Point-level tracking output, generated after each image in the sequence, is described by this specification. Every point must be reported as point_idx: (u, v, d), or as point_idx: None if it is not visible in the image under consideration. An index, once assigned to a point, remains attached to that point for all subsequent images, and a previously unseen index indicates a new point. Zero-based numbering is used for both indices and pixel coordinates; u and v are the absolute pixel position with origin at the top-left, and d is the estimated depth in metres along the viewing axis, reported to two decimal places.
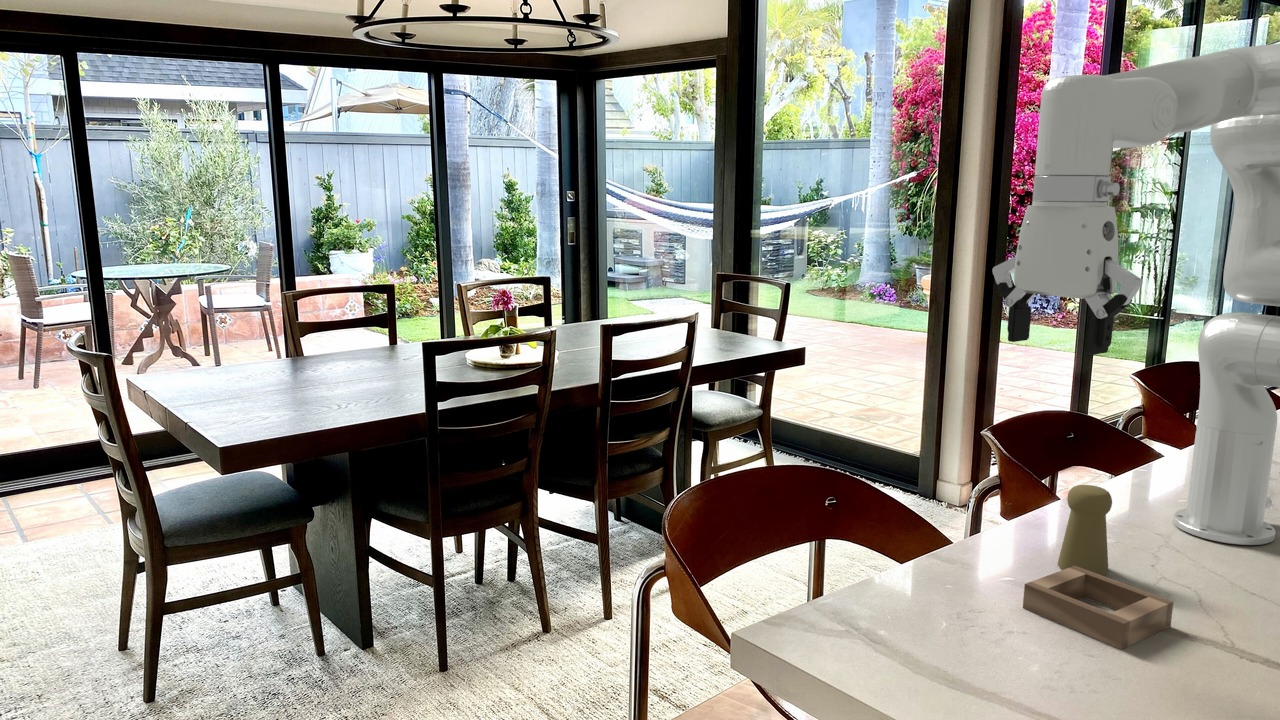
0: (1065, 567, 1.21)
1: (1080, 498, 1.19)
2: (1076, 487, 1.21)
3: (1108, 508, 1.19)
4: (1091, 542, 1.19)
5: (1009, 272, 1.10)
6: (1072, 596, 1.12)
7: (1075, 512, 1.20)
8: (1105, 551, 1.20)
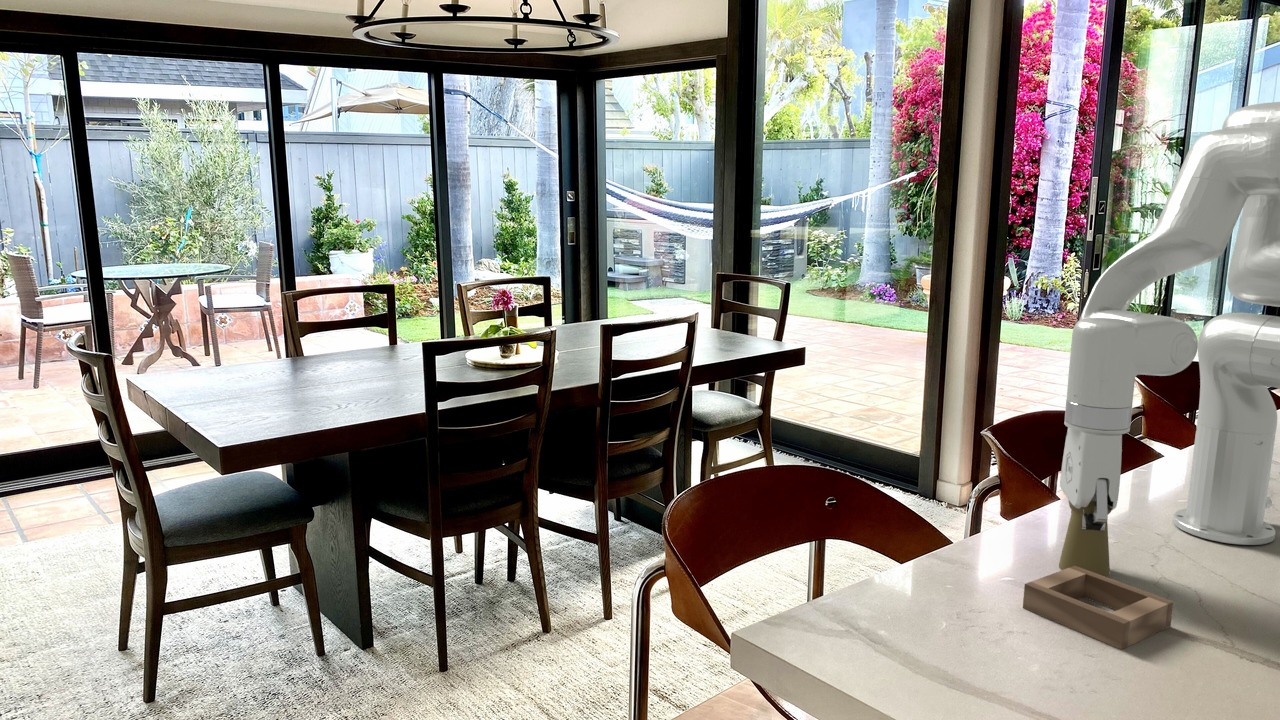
0: (1066, 568, 1.21)
1: None
2: None
3: None
4: (1092, 543, 1.19)
5: None
6: (1072, 596, 1.12)
7: (1076, 513, 1.20)
8: (1106, 552, 1.19)
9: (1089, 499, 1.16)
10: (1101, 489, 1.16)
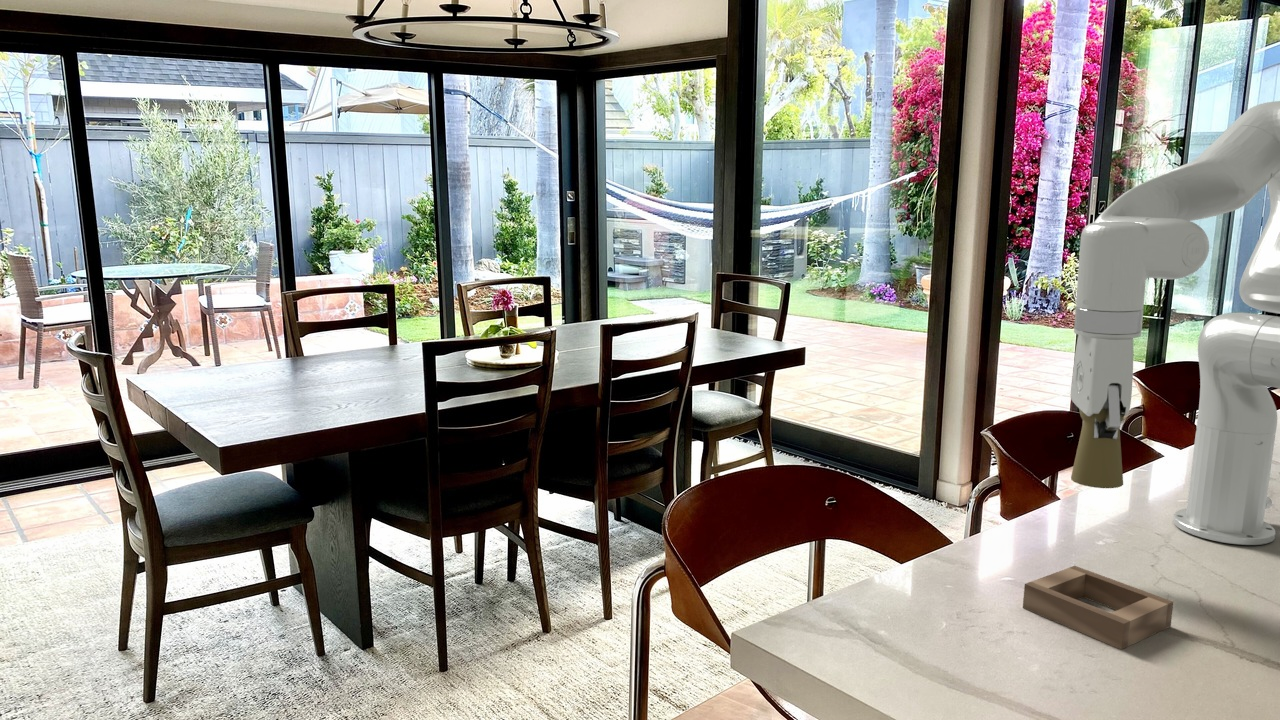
0: (1078, 479, 1.19)
1: None
2: None
3: None
4: (1104, 452, 1.17)
5: None
6: (1072, 596, 1.12)
7: (1088, 423, 1.18)
8: (1119, 461, 1.17)
9: (1101, 405, 1.14)
10: (1113, 395, 1.13)
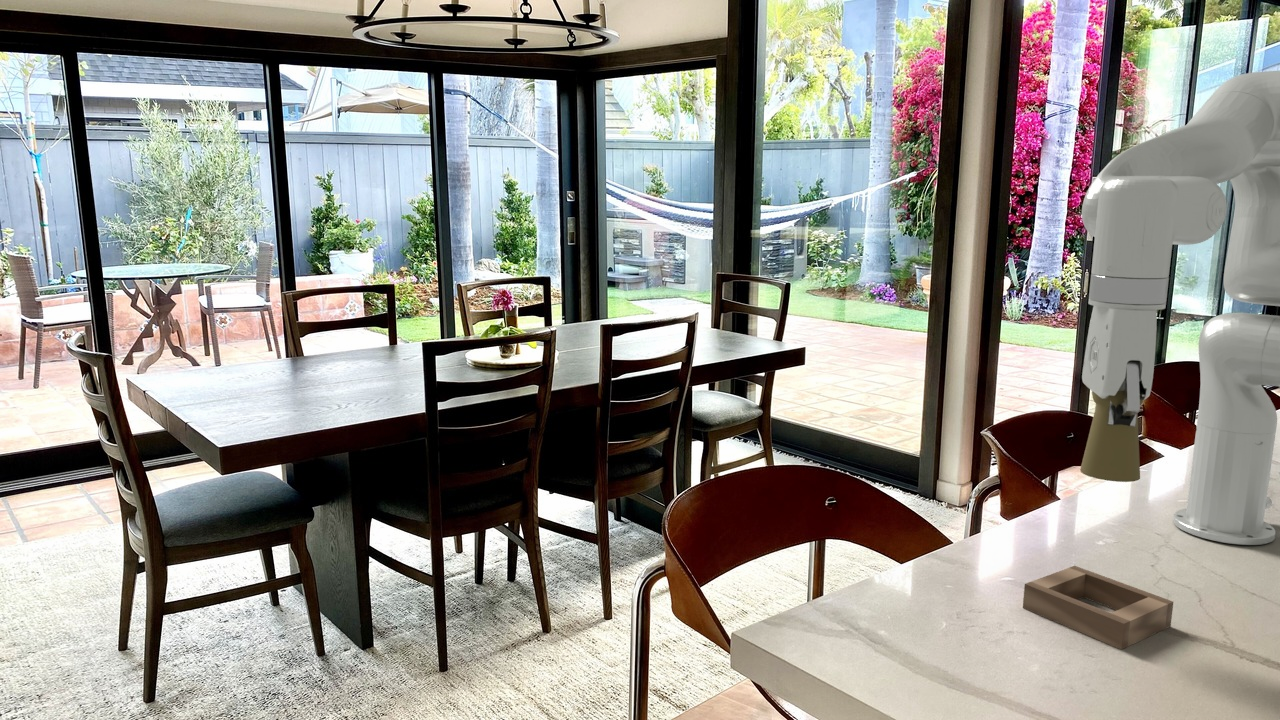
0: (1089, 471, 1.04)
1: None
2: None
3: (1140, 400, 1.01)
4: (1120, 440, 1.02)
5: None
6: (1072, 596, 1.12)
7: (1101, 407, 1.03)
8: (1136, 452, 1.03)
9: (1118, 386, 0.99)
10: (1132, 374, 0.99)
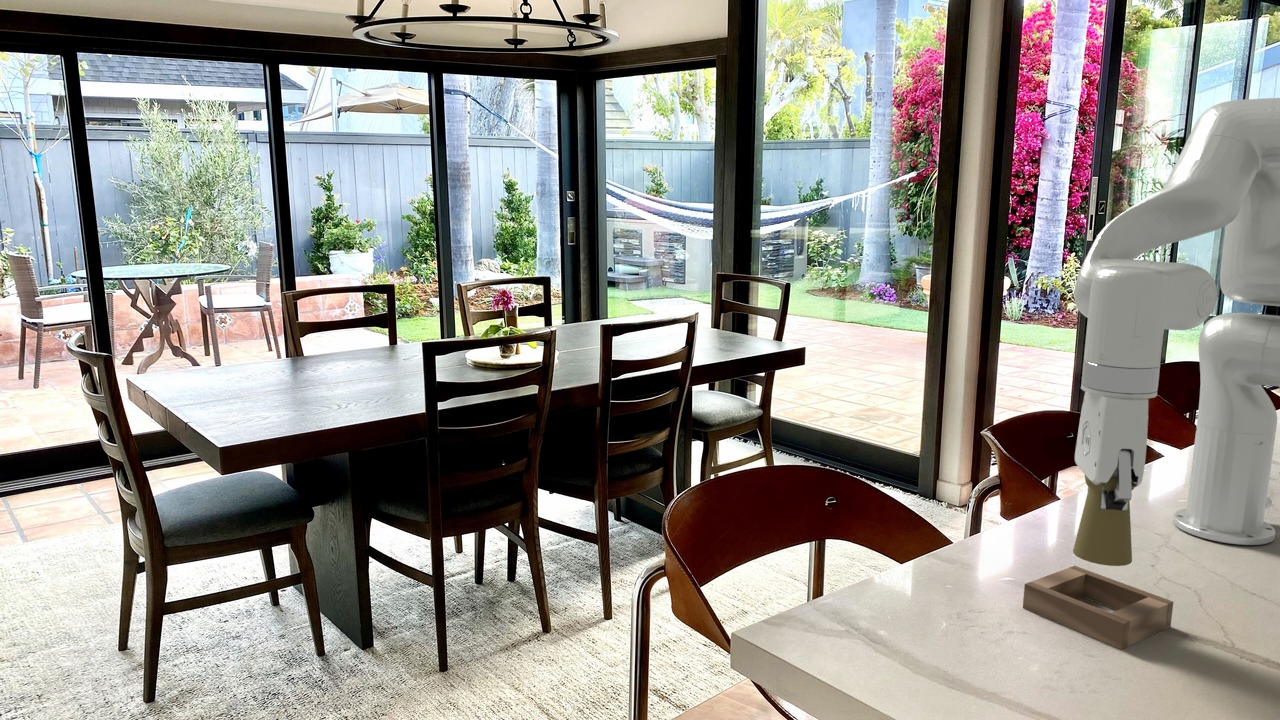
0: (1082, 554, 1.05)
1: None
2: None
3: None
4: (1112, 525, 1.03)
5: None
6: (1072, 596, 1.12)
7: (1094, 491, 1.04)
8: (1128, 536, 1.04)
9: (1110, 473, 1.00)
10: (1124, 462, 1.00)
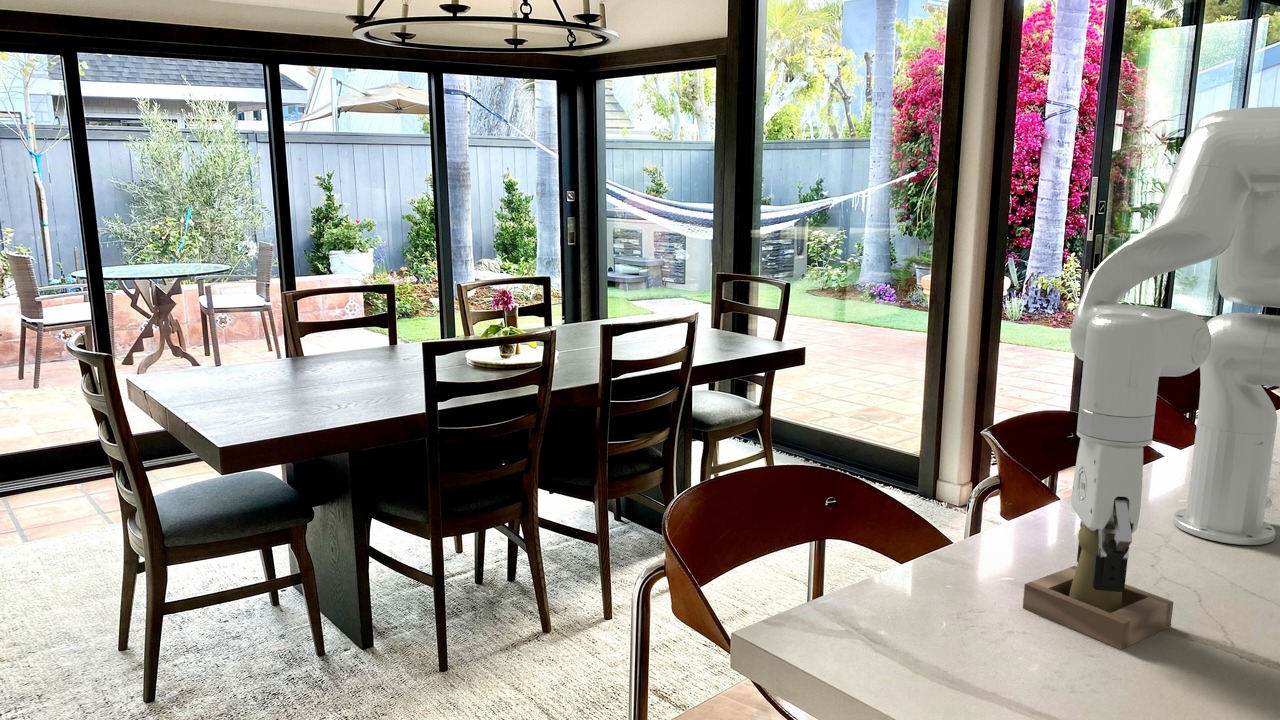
0: None
1: (1092, 537, 1.06)
2: None
3: None
4: None
5: None
6: None
7: (1086, 552, 1.07)
8: (1119, 596, 1.07)
9: (1106, 521, 1.01)
10: (1121, 506, 1.01)
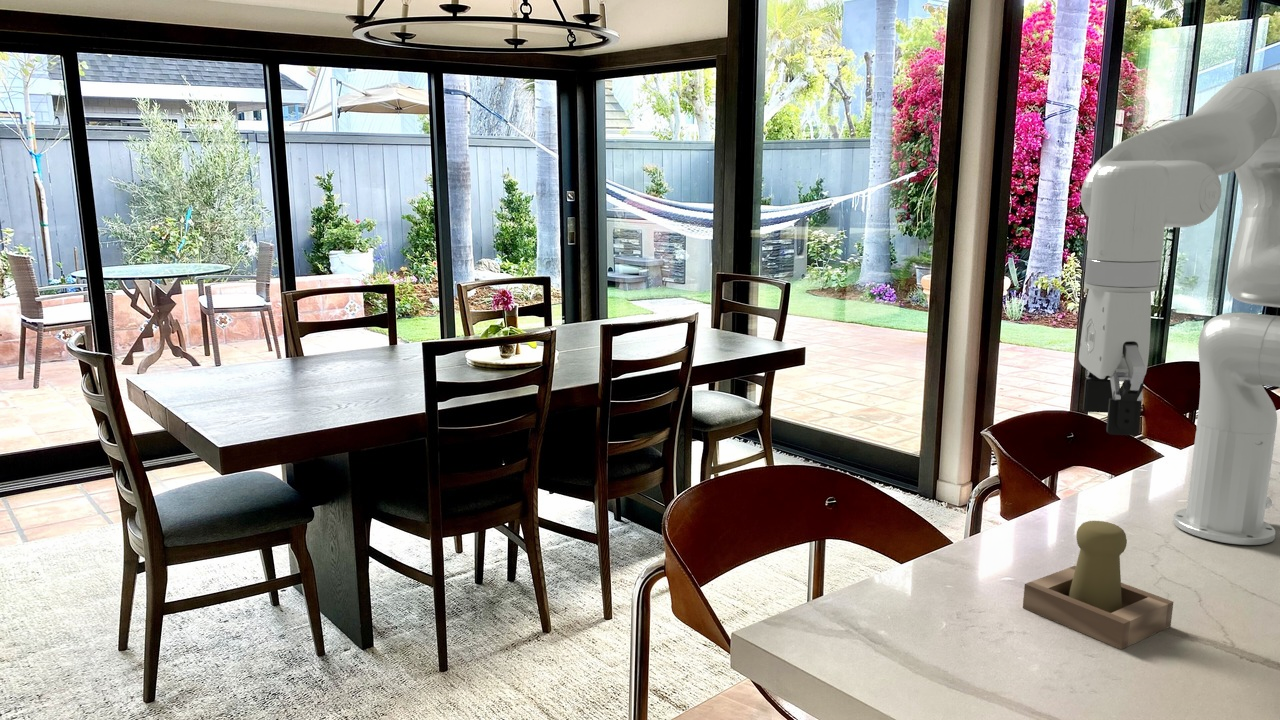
0: None
1: (1090, 537, 1.06)
2: (1086, 524, 1.08)
3: (1122, 548, 1.05)
4: (1102, 586, 1.06)
5: None
6: None
7: (1085, 552, 1.07)
8: (1118, 596, 1.07)
9: (1115, 366, 1.03)
10: (1131, 346, 1.02)
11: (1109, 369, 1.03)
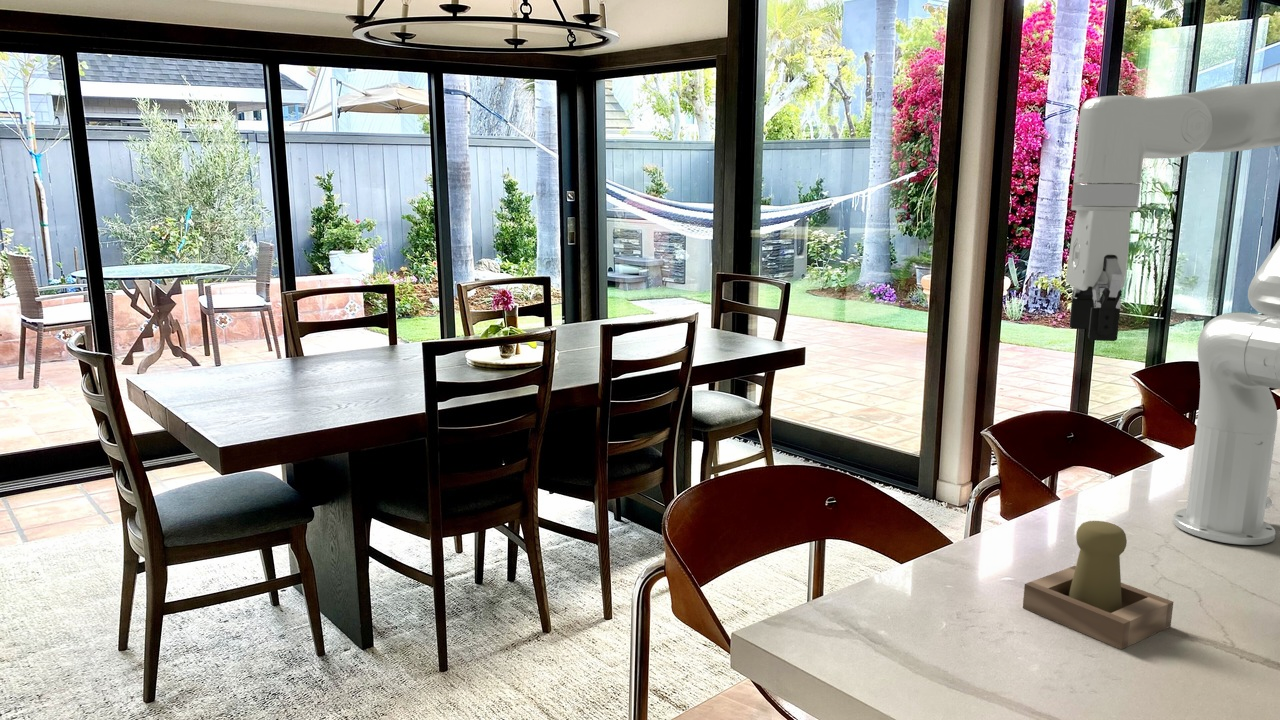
0: None
1: (1090, 537, 1.06)
2: (1086, 524, 1.08)
3: (1122, 548, 1.05)
4: (1102, 586, 1.06)
5: None
6: None
7: (1085, 552, 1.07)
8: (1118, 596, 1.07)
9: (1096, 278, 1.14)
10: (1111, 259, 1.13)
11: (1091, 280, 1.14)
